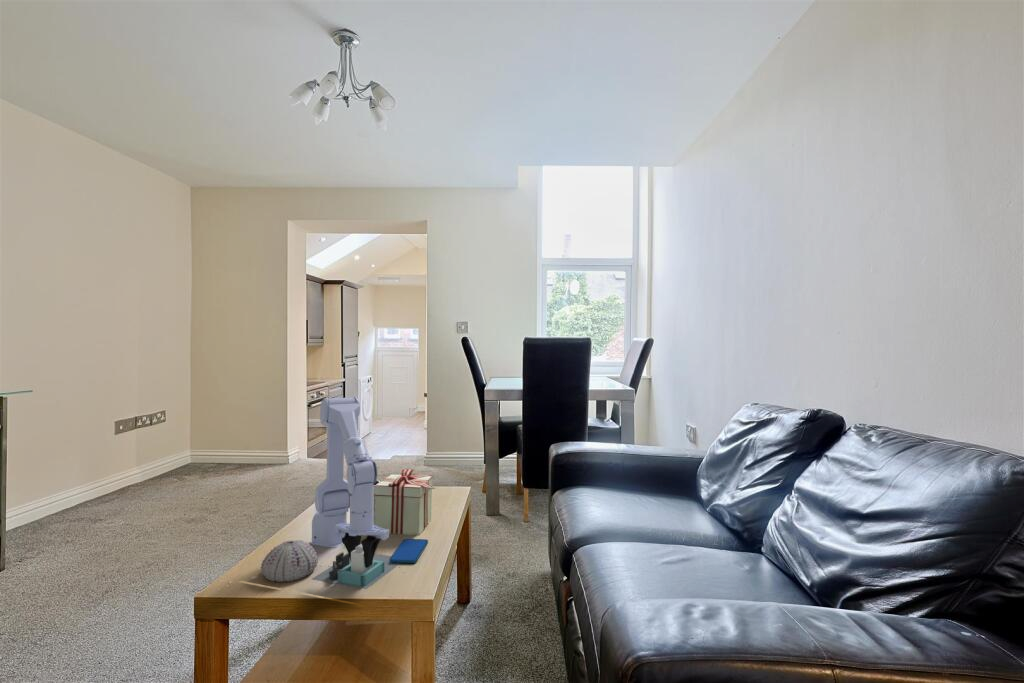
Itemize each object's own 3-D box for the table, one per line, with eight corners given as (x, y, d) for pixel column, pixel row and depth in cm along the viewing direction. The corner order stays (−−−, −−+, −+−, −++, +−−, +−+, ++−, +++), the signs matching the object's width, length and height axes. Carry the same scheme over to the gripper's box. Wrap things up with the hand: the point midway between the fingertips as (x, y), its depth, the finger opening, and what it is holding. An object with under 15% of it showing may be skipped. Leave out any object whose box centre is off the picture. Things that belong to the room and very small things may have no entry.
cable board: (311, 580, 122) (311, 565, 122) (356, 552, 139) (356, 539, 139) (366, 590, 117) (366, 575, 117) (406, 560, 134) (406, 546, 134)
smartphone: (388, 559, 131) (404, 538, 146) (388, 563, 131) (404, 542, 146) (416, 560, 131) (428, 539, 146) (416, 564, 131) (428, 542, 146)
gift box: (432, 536, 151) (432, 479, 152) (372, 536, 152) (372, 479, 152) (441, 517, 168) (441, 466, 169) (387, 517, 169) (387, 466, 169)
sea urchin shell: (326, 562, 133) (326, 532, 133) (305, 586, 120) (305, 553, 120) (276, 562, 133) (277, 532, 133) (250, 586, 120) (250, 553, 120)
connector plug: (350, 572, 122) (350, 547, 122) (362, 565, 127) (362, 541, 127) (362, 574, 121) (363, 549, 121) (373, 566, 125) (373, 543, 126)
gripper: (326, 511, 122) (326, 567, 122) (377, 518, 118) (377, 575, 117) (345, 503, 129) (345, 556, 129) (393, 509, 124) (393, 563, 124)
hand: (361, 564), depth 124 cm, fingers closed on connector plug, 3 cm apart
